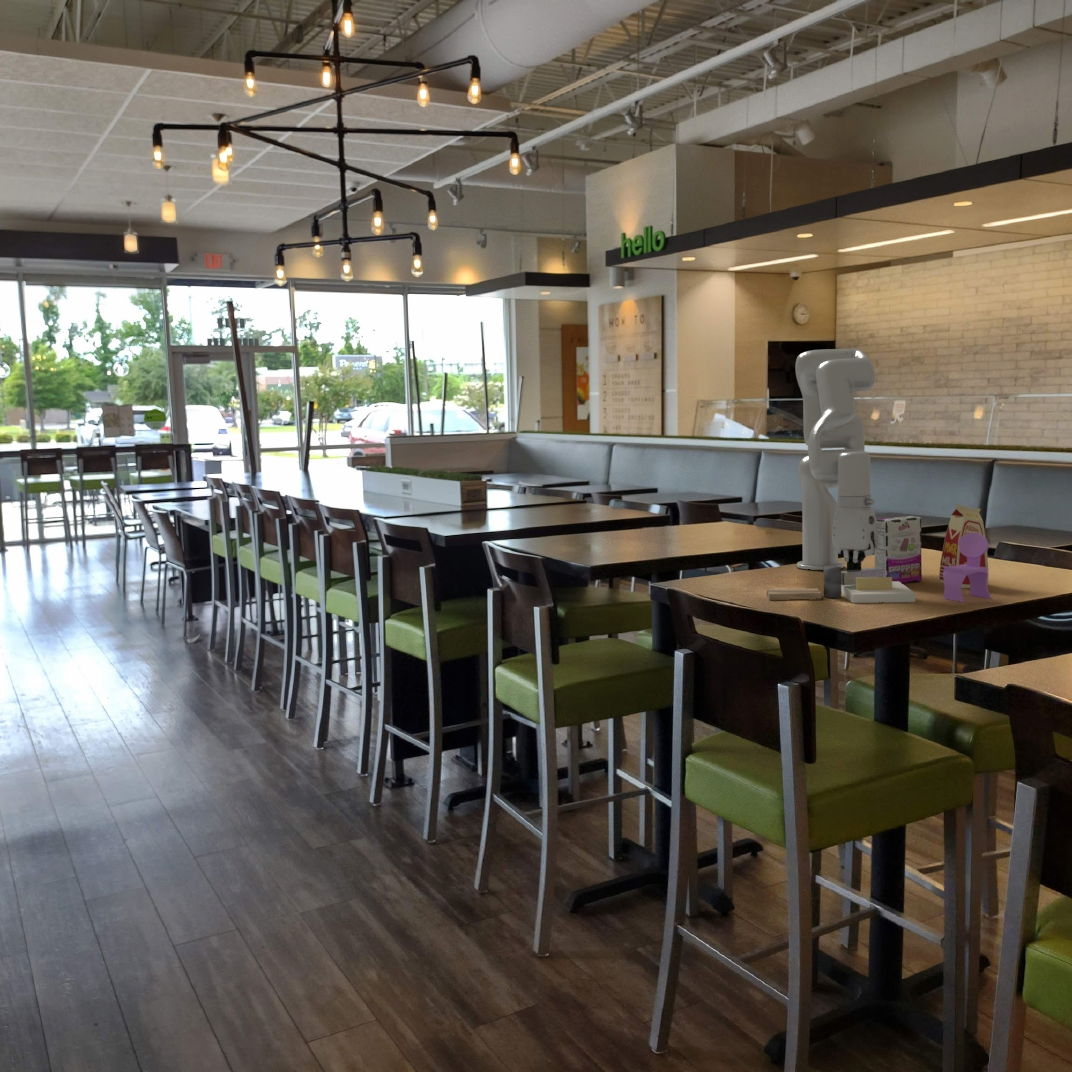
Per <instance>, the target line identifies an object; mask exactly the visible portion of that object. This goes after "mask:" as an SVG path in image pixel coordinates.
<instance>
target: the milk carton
mask: <svg viewBox="0 0 1072 1072" xmlns="http://www.w3.org/2000/svg"><path fill="white" fill-rule="evenodd" d="M954 506H955V510H954V511H953V512H952V513H951V516H950V519H949V523H948V525H947V526H948V527H947V529H946V533H945V536H944V541H943V547H942V551H941V558H940V564H939V575H938V583H939V584H943V585H944V578H943V572H944V567H947V566H957V565H962V564H967V557H966V556H964V555H963V554H962V553H960V549H959V545H958V542H959V539H960V538H961V537H962V536H964V535H966V534H969V533H979V534H982V535H983V536H984V537H985V538H986V532H985V531H986V530H985V526H984V521H983V518H982V515H981V514H980V511H981V510H982V508H978V507H976V508H975V507H967V506H965V505H961V504H958V503H955V505H954ZM986 539H987V538H986ZM980 567H987V572H988V573H989V561H988V550H987V551H986V552H985V553H984V554H982V555H981V559H980ZM989 583H990V582H989V577H988V578H987V587H988V586H989ZM961 589H970V581H969V577H968V575H967V576H966V577H965V579H964V581H963V583H962V586H961Z"/></svg>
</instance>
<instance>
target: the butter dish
mask: <svg viewBox="0 0 1072 1072" xmlns="http://www.w3.org/2000/svg"><path fill="white" fill-rule="evenodd" d="M841 594H842V595H843V596H844V597H846V598H847V600H848V601H849V602H852V604H861V603H862V604H866V603H867V604H869V603H872V604H874V603H877V604H878V603H879V602H880V603H881V602H884V603H916V592H914V591H913V590H912V589H910V588H908V587H907V586H906V585H905V584H904V583H903V584H902V583H900V582H899V581H892V577H863V578H856V584H853V585H845V586H844V585H841ZM881 604H882V603H881Z"/></svg>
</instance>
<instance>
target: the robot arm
mask: <svg viewBox="0 0 1072 1072" xmlns="http://www.w3.org/2000/svg"><path fill="white" fill-rule="evenodd" d="M794 367H795V377H796V380H797V384H798V387H799V389H800V392H801V395H802V404H803V409H802V410H803V411H802V413H803V414H802V415H803V417H802V418H803V422H802V423H803V438H804V439H803V440H804V443H805V445H806V446H807V453H808V455H806V456H804V457H802V458H801V459H800V462H799V463H798V477H799V482H800V489H801V490H800V491H801V508H802V509H801V513H802V514H801V515H802V516H801V517H802V519H801V520H802V523H801V524H802V525H801V527H802V528H801V529H802V560H800V561H797V563H796V567H797V568H798V569H802V570H808V569H810V570H809V571H824V567H827V566H837V567H841V569H842V568H844V567H845V565H844V562H843V561H840V560H839V555H841V556H842V557H843V558H844V561H845V562H846V571H849V570H857V569H862V562H864V560H865V558H867V557H869V556H875V548H876V547H877V545H878V535H877V523H876V519H877V518H876V514H875V510H874V508H872V507H871V506H872V505H874V504H875V499H874V498H871V497H872V496H871V456H870V453H868V451H867V452H866V451H865V427H864V422H863V419H862V418H861V416H860V415H858V414H857V407H856V401H855V396H854V395H855V394H854V392H866V391H869V390H871V389H872V388H873V387H874V386H875V385H874V384H875V380H876V372H875V368H874V364H873V362H872V360H871V359H870V358H869V356H868V355H866V354H865V353H864V352H863V350H861V349H859V348H837V349H835V348H834V349H833V348H832V349H830V348H829V349H828V348H827V349H826V348H825V349H813V350H811V349H810V350H807V351H804V352H802V353H800V354H798V356H797V358H796V361H795V366H794ZM829 489H837V500H836V498H835V497H834V496H833V495H832V494H831V492H829Z"/></svg>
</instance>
